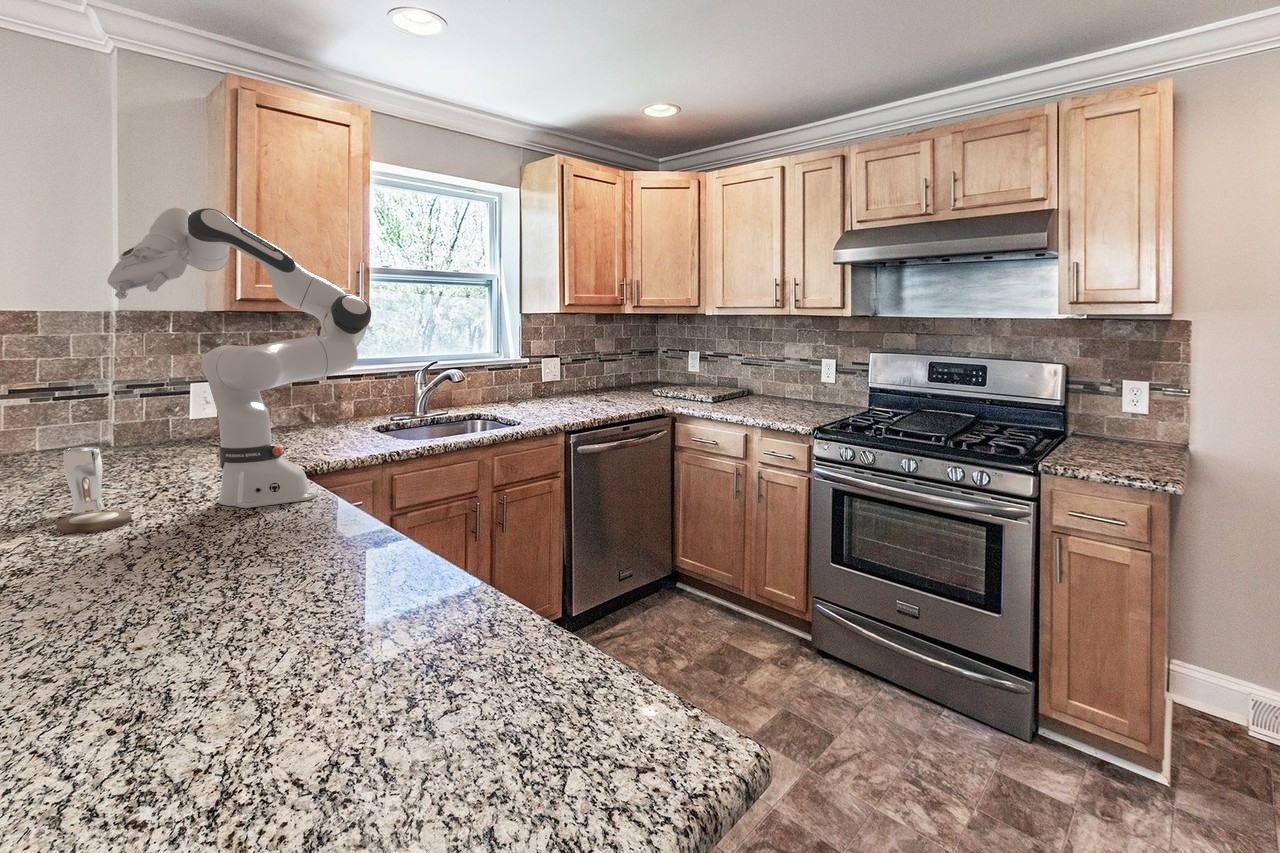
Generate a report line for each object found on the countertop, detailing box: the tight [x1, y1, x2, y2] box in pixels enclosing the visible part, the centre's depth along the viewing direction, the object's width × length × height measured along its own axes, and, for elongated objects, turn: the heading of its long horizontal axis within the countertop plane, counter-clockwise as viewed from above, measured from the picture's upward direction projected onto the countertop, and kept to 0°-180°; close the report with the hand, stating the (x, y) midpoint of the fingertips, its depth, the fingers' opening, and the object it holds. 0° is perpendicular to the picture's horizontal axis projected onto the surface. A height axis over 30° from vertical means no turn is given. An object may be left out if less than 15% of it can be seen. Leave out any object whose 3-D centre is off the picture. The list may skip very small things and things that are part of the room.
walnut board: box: [55, 509, 133, 535], centre depth 149 cm, size 13×13×2 cm
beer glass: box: [63, 446, 106, 515], centre depth 159 cm, size 7×7×15 cm
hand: (135, 293), depth 166 cm, fingers open, 8 cm apart
